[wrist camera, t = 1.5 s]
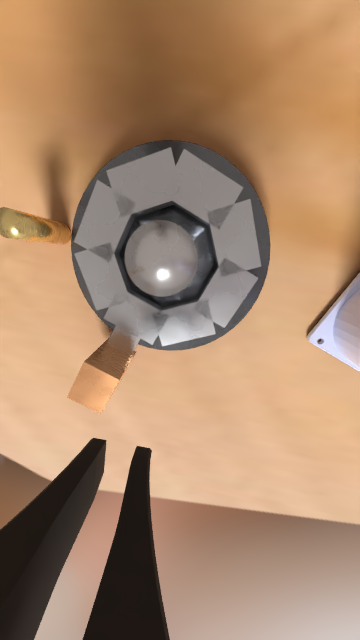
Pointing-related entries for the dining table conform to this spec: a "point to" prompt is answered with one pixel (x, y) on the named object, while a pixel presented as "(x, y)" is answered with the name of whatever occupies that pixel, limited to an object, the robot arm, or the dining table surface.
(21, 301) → the dining table surface
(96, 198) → the grey handled ring
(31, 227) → the dowel pin
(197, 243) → the post base
